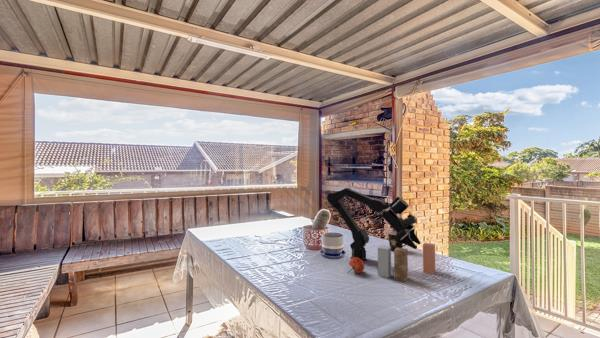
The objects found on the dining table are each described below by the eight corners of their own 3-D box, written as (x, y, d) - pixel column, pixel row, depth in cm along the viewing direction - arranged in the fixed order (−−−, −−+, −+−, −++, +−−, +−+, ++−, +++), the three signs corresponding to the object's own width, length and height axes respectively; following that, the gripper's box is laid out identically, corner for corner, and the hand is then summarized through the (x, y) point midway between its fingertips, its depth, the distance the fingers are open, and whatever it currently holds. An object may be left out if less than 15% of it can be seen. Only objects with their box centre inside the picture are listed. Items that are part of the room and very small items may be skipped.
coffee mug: (385, 249, 163) (384, 232, 163) (396, 247, 167) (396, 231, 167) (399, 255, 152) (399, 236, 153) (411, 252, 156) (411, 235, 156)
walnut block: (394, 279, 119) (394, 250, 119) (397, 275, 123) (396, 247, 123) (405, 281, 117) (405, 251, 117) (407, 277, 121) (407, 249, 121)
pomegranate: (353, 281, 123) (371, 267, 123) (342, 267, 124) (360, 253, 124) (351, 276, 130) (368, 263, 130) (341, 263, 131) (358, 250, 131)
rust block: (423, 272, 127) (422, 244, 127) (424, 269, 131) (424, 242, 131) (434, 274, 124) (433, 246, 124) (435, 271, 128) (435, 243, 128)
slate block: (378, 276, 123) (377, 247, 123) (381, 272, 127) (380, 245, 127) (388, 278, 121) (388, 249, 121) (391, 274, 124) (390, 246, 124)
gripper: (401, 212, 125) (428, 239, 119) (409, 207, 141) (434, 231, 135) (383, 228, 129) (409, 255, 123) (393, 221, 145) (417, 245, 139)
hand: (418, 246), depth 130 cm, fingers open, 9 cm apart
